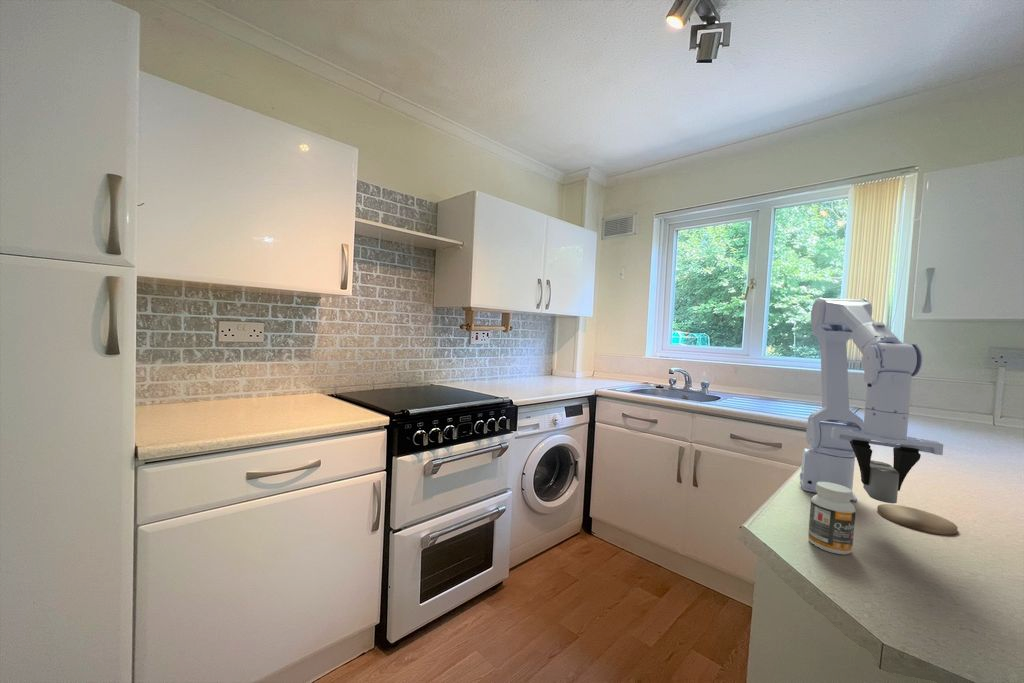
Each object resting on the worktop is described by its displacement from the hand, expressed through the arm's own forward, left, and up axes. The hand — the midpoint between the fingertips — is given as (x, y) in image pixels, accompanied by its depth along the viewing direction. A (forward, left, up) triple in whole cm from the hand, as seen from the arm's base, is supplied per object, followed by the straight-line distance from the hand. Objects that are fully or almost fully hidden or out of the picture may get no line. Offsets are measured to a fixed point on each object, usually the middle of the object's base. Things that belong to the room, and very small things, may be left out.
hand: (879, 486), depth 72 cm
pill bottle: (-8, -12, -9) cm, 17 cm away
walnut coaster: (+8, +12, -8) cm, 17 cm away
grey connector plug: (0, +1, -2) cm, 2 cm away
